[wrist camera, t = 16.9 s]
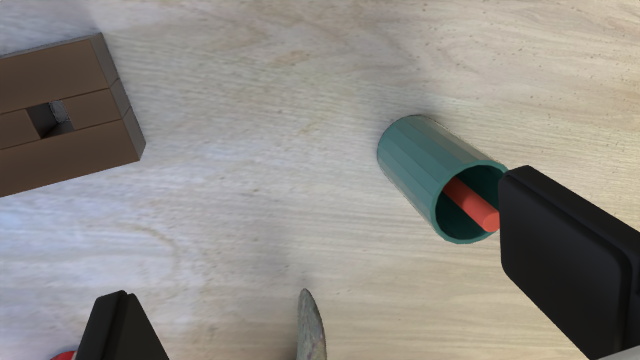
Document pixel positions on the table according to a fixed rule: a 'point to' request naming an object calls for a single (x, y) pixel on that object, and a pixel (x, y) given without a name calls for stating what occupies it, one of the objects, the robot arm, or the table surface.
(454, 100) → the table surface
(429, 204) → the can
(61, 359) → the soda can
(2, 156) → the block with rectangular slots
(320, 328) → the axe head
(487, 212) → the straw
